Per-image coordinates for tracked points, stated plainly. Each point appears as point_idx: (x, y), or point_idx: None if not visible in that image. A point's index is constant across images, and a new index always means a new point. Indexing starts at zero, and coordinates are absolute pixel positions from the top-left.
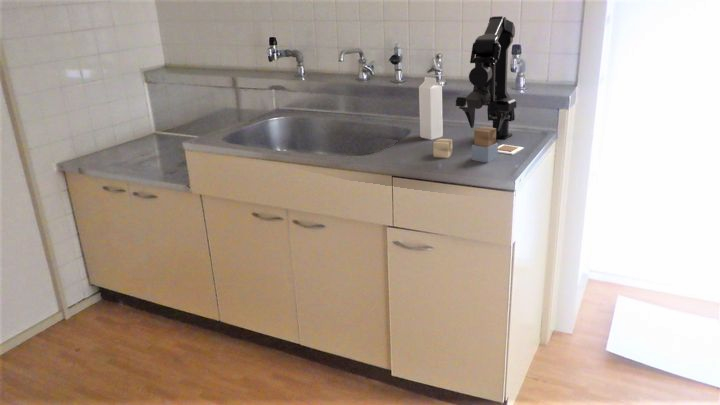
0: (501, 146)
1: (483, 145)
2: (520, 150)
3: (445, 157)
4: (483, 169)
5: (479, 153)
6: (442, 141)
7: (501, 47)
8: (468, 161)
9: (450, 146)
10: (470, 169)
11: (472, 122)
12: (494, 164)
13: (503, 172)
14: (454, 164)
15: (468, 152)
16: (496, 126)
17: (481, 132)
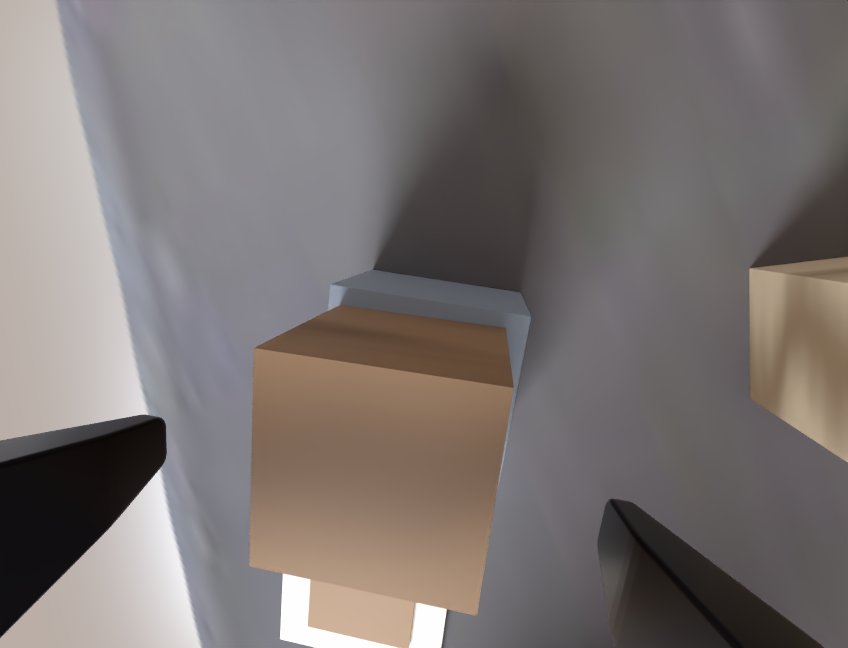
0: (423, 631)
1: (392, 315)
2: (285, 590)
3: (776, 266)
4: (335, 90)
5: (442, 290)
6: None
7: None
8: (530, 240)
9: (806, 370)
10: (430, 39)
11: (633, 589)
12: (313, 246)
13: (177, 89)
14: (618, 109)
15: (619, 462)
16: (93, 436)
17: (383, 358)
